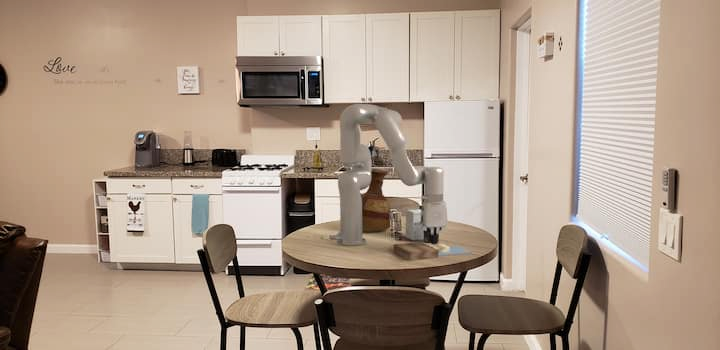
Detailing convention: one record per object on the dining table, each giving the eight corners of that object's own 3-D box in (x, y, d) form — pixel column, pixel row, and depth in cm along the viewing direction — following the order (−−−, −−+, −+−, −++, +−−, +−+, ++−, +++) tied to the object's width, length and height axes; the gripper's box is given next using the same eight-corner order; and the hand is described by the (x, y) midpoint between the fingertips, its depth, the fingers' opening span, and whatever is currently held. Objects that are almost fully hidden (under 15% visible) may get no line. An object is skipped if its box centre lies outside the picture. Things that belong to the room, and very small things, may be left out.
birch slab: (432, 253, 217) (432, 248, 217) (425, 250, 223) (425, 245, 223) (449, 251, 220) (449, 246, 220) (442, 248, 226) (442, 243, 226)
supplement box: (412, 240, 242) (412, 212, 241) (405, 237, 249) (405, 209, 248) (427, 239, 245) (427, 211, 243) (419, 235, 252) (419, 208, 250)
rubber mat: (437, 256, 214) (437, 255, 214) (422, 249, 226) (422, 248, 226) (471, 252, 220) (471, 251, 220) (455, 246, 231) (455, 245, 231)
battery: (423, 243, 237) (423, 217, 235) (422, 241, 240) (423, 215, 239) (439, 243, 236) (440, 217, 235) (438, 241, 240) (439, 215, 239)
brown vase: (389, 235, 253) (389, 170, 250) (346, 234, 256) (345, 170, 253) (393, 226, 273) (393, 166, 269) (353, 225, 276) (353, 166, 273)
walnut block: (410, 260, 208) (410, 252, 208) (393, 251, 222) (393, 244, 222) (438, 257, 213) (438, 249, 213) (420, 248, 227) (420, 241, 226)
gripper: (421, 200, 212) (421, 247, 214) (455, 198, 218) (454, 243, 219) (412, 198, 219) (412, 243, 221) (445, 195, 225) (444, 240, 226)
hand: (433, 243), depth 220 cm, fingers closed
